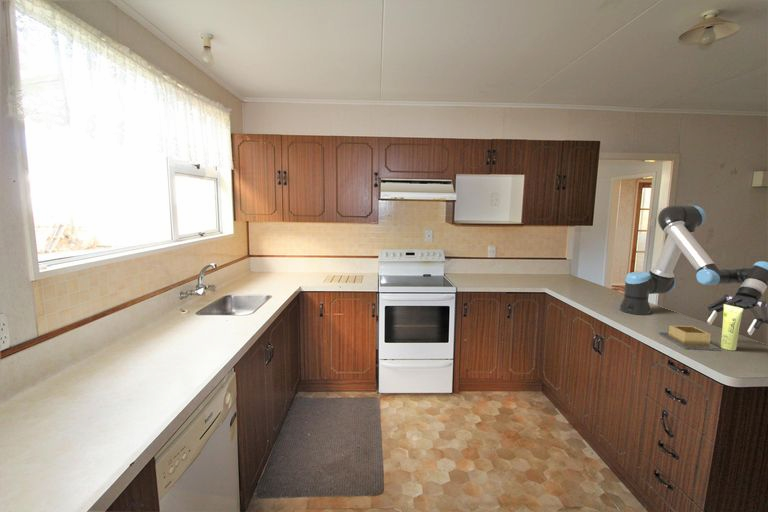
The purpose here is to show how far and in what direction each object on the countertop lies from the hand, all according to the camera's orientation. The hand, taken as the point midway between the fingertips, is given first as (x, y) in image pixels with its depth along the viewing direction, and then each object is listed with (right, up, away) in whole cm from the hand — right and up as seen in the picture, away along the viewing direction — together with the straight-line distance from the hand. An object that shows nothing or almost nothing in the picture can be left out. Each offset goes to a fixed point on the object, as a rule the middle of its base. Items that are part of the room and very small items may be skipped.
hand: (728, 328), depth 151 cm
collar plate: (-9, -8, +10) cm, 16 cm away
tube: (+2, -10, +2) cm, 10 cm away
